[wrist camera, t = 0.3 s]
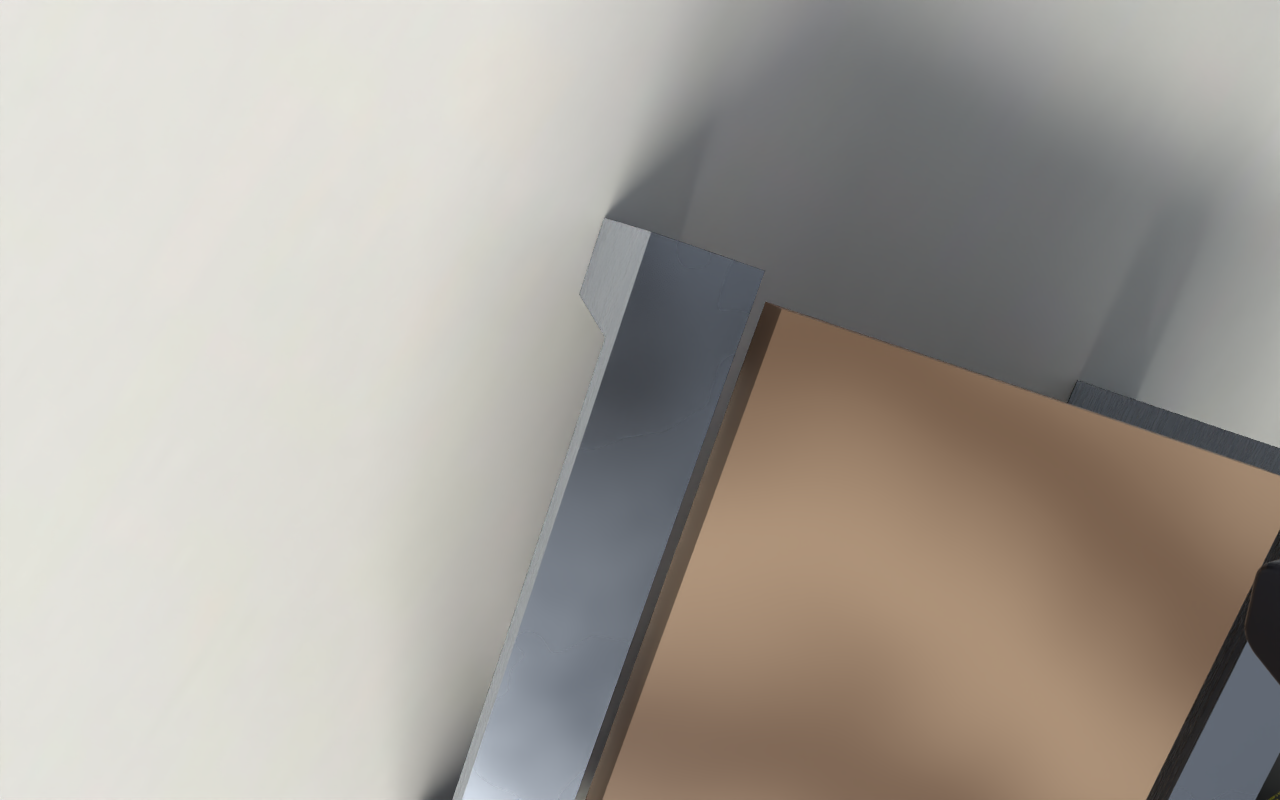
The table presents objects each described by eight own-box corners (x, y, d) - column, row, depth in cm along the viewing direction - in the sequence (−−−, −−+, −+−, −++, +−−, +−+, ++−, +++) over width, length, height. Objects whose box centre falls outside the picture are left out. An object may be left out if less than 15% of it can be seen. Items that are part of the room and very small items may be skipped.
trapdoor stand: (889, 962, 28) (1035, 1265, 20) (385, 873, 25) (324, 1191, 17) (1142, 402, 25) (1437, 501, 17) (596, 215, 22) (641, 227, 14)
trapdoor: (855, 993, 25) (944, 1205, 20) (484, 930, 23) (473, 1150, 18) (1113, 413, 22) (1302, 484, 17) (711, 277, 20) (782, 308, 15)
